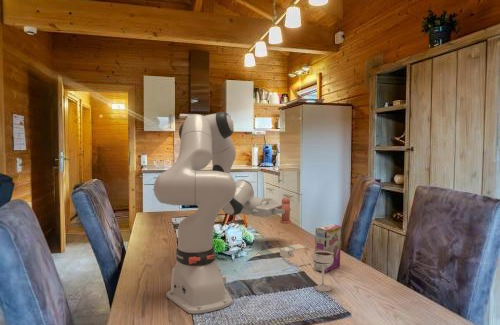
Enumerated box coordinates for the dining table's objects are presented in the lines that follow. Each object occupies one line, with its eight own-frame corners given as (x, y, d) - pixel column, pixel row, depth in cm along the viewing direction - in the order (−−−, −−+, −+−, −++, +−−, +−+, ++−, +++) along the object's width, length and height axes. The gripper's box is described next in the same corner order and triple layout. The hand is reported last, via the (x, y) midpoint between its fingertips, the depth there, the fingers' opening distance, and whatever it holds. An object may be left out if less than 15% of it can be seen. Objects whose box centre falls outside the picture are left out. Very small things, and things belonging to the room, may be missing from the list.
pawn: (293, 223, 150) (293, 197, 150) (284, 224, 148) (284, 198, 147) (286, 220, 154) (287, 196, 154) (278, 222, 152) (278, 196, 151)
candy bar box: (325, 274, 124) (326, 230, 123) (313, 270, 127) (314, 227, 126) (341, 266, 131) (341, 225, 131) (330, 263, 135) (330, 223, 134)
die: (293, 258, 141) (293, 249, 141) (287, 260, 138) (287, 251, 138) (285, 256, 144) (286, 246, 144) (279, 258, 141) (279, 248, 141)
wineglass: (334, 293, 107) (334, 256, 107) (312, 291, 108) (313, 255, 108) (332, 284, 114) (333, 250, 113) (312, 283, 115) (313, 248, 115)
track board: (309, 250, 152) (309, 248, 151) (251, 261, 137) (251, 258, 137) (295, 244, 160) (295, 242, 160) (240, 254, 146) (240, 252, 146)
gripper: (249, 203, 149) (276, 207, 141) (271, 198, 166) (297, 200, 159) (249, 217, 149) (276, 222, 142) (271, 210, 166) (296, 213, 159)
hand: (287, 210), depth 150 cm, fingers closed on pawn, 4 cm apart
